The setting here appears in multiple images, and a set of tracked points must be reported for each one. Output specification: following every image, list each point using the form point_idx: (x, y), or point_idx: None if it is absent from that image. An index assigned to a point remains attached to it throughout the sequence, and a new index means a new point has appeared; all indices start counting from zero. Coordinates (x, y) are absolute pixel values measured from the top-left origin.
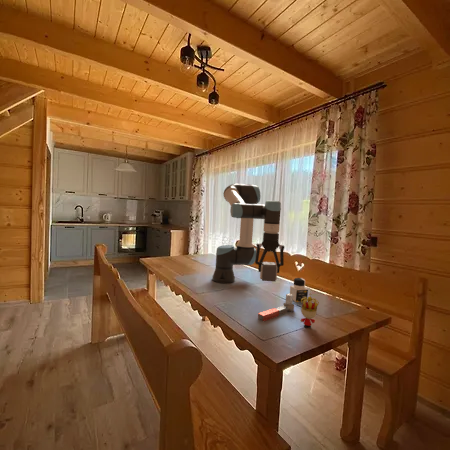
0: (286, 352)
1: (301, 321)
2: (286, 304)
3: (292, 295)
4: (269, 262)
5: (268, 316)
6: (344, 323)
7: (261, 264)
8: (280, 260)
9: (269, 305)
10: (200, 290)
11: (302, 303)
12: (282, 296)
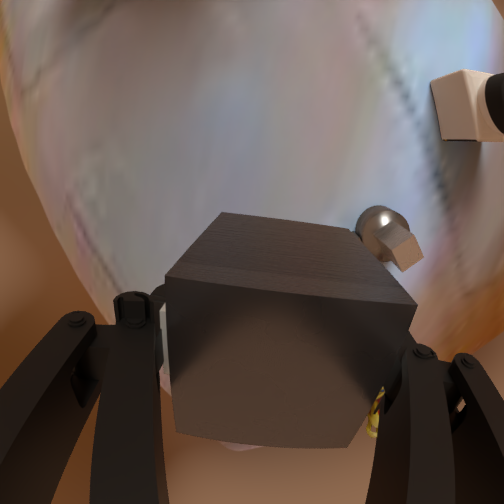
0: None
1: None
2: (375, 238)
3: (418, 259)
4: (311, 332)
5: None
6: (483, 321)
7: (159, 383)
8: (467, 404)
9: (305, 173)
10: (34, 58)
11: (376, 406)
12: (401, 60)
